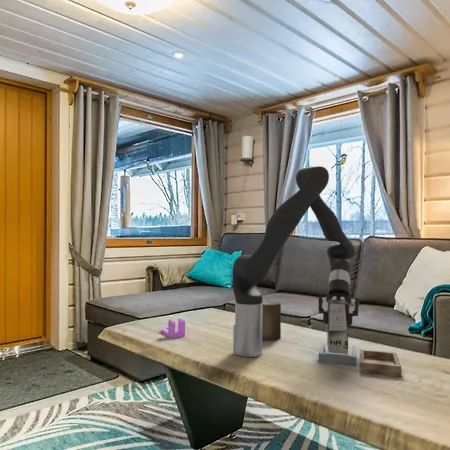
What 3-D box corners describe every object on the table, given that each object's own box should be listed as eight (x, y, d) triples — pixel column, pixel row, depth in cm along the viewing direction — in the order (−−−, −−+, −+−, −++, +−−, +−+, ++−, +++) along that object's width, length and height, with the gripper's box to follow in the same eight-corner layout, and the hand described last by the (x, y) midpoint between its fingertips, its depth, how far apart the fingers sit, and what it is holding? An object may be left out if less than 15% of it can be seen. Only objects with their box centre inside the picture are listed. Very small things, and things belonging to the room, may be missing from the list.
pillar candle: (285, 339, 156) (285, 300, 156) (264, 341, 152) (264, 301, 152) (272, 333, 165) (272, 296, 165) (251, 335, 160) (251, 298, 161)
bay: (318, 361, 129) (318, 353, 129) (321, 349, 142) (321, 342, 142) (355, 365, 126) (355, 357, 126) (355, 353, 138) (355, 345, 138)
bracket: (184, 336, 158) (185, 319, 158) (171, 338, 155) (172, 320, 156) (171, 329, 169) (172, 313, 170) (159, 331, 167) (159, 314, 167)
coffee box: (348, 354, 130) (349, 304, 130) (328, 352, 131) (329, 303, 131) (346, 346, 139) (347, 299, 139) (326, 345, 140) (327, 298, 140)
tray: (360, 372, 119) (360, 362, 119) (359, 358, 133) (359, 349, 133) (401, 376, 116) (401, 366, 116) (396, 361, 129) (396, 352, 129)
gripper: (318, 277, 146) (315, 315, 135) (360, 279, 142) (360, 319, 131) (319, 290, 151) (316, 328, 140) (359, 292, 147) (359, 332, 136)
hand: (337, 323), depth 135 cm, fingers closed on coffee box, 7 cm apart
